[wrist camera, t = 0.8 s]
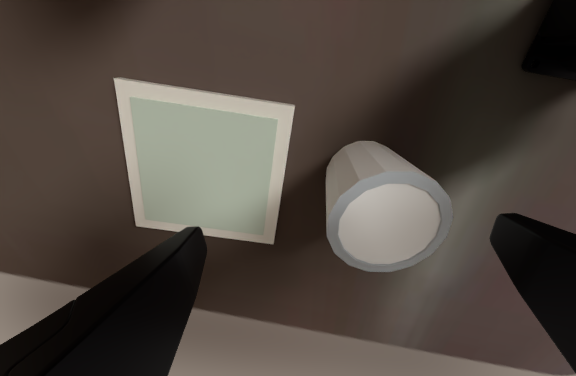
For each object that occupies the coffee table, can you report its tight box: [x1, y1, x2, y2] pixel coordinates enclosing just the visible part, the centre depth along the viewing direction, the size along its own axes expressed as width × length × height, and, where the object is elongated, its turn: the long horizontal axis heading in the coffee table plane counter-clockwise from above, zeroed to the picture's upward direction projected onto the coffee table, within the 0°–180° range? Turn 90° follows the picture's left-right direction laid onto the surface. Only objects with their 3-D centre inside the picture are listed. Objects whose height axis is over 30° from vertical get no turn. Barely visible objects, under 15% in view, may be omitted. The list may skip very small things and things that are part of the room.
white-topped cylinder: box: [326, 141, 453, 272], centre depth 18 cm, size 7×7×7 cm
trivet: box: [114, 77, 295, 244], centre depth 21 cm, size 12×12×1 cm
